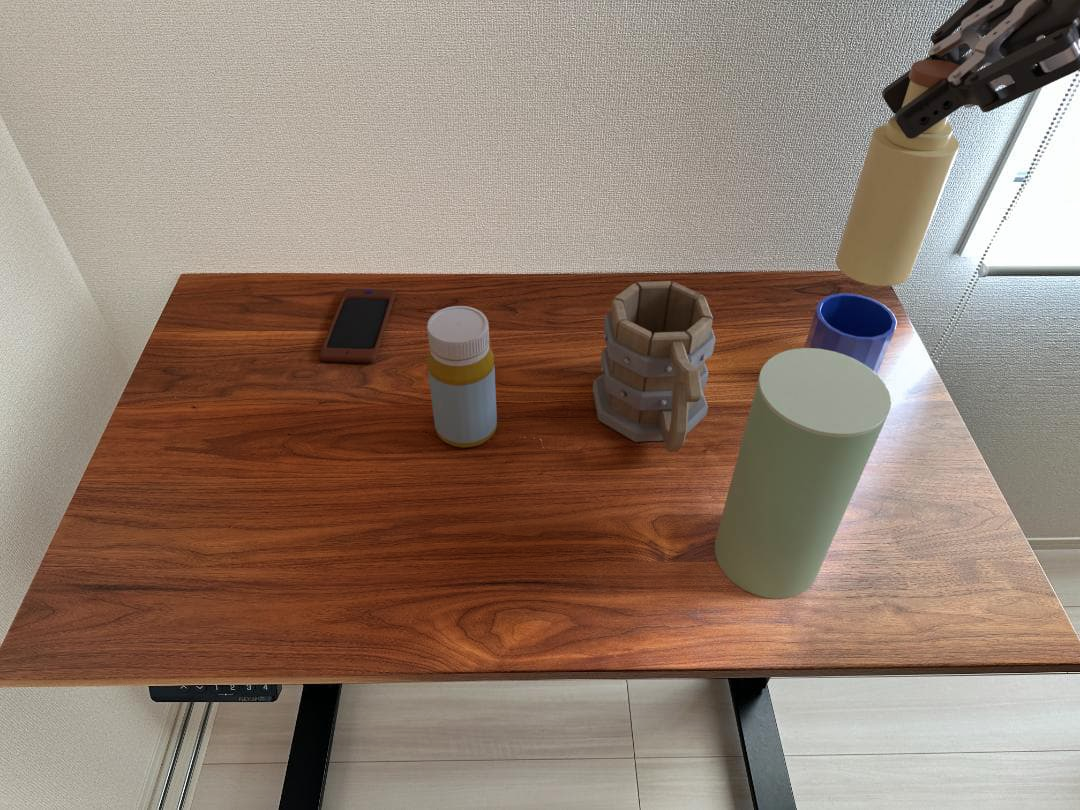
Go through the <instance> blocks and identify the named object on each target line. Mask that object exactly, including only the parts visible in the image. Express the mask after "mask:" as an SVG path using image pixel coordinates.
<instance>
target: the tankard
mask: <svg viewBox="0 0 1080 810" xmlns="http://www.w3.org/2000/svg"><path fill="white" fill-rule="evenodd" d="M713 322H714V317H713V314H712V312H711V308H710V306H709V303H708V301H707V299H706V297H705V296H704V295H703V293H702V294H701V293H700V292H698V291H696V290H693V289H690V288H689V287H686V286H684V285H682V284H680V283H678V282H675V281H672V283H671V281H670V280H663V281H662V280H660V281H658V280H657V281H637V282H636V283H635V282H634V283H632V284H631V285H630V286H628V287H627V288H625V289H624V290H622V291H621V292H620V293H618V294H617V295H616V296H614V297H613V298H612V300H611V305H610V312H609V313H607V314H606V315H605V316H604V321H603V340H604V341H605V345H606V347H605V348H603V349H602V350H601V357H600V367H601V369H600V372H601V375H600V376H598V377H597V378H596V379H595V380H593V382H592V393H593V398H594V404H595V409H596V410H595V411H596V416H597V420H598V421H599V422H601V423H602V424H604V425H605V426H607V427H609V428H610V429H612V430H614V431H616V432H618V433H620V434H621V435H623V436H624V437H626V438H627V439H629V440H631V441H633V442H635V443H639V442H641V443H642V442H660V441H661V442H662V441H663V443H664V446H665V449H666V451H667V452H668V453H678V452H679V450H681V449H682V447H683V446H684V444H685V443H686V437H687V435H688V434H689V433H690V432H691V431H692V430H693V429H694V428H695V427H696V426H697V425H698V424H699V423H700V422H701V421H703V419H704V418H705V417H706V416H707V413H708V410H709V406H708V403H707V399H706V397H705V394H704V390H705V389H706V387H707V381H708V378H709V372H708V369H707V365H706V363H705V362H706V360H708V359H709V358H710V357H712V355H713V354H714V348H715V345H716V337H715V336H716V335H715V334H714V330H713V328H712V327H713Z"/></svg>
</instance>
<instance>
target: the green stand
mask: <svg viewBox="0 0 1080 810" xmlns="http://www.w3.org/2000/svg"><path fill="white" fill-rule="evenodd" d="M755 386H756V387H755V390H754V394H753V398H752V402H751V405H750V409H749V412H748V415H747V416H748V417H747V419H746V424H745V428H744V431H743V436H742V439H741V443H740V446H739V450H738V453H737V458H736V461H735V465H734V469H733V473H732V475H731V480H730V484H729V487H728V491H727V495H726V499H725V502H724V506H723V510H722V513H721V517H720V522H719V525H718V528H717V533H716V535H715V540H714V555H715V558H716V562H717V564H718V566H719V567H720V569H721V571H722V572H723V574H724V575H725V576H726V577H727V578H728V580H730V581H731V582H732V583H733V584H735V585H736V586H737V587H739V588H741V589H742V590H743V591H746V592H747V593H750V594H752V595H755V596H758V597H762V598H765V599H766V598H767V599H777V600H778V599H780V600H782V599H790V598H793V597H796V596H798V595H801V594H802V593H804V592H806V591H807V590H808V589H809V588H810V587H812V585H813V584H814V583H815V581H816V580H817V577H818V575H819V573H820V570H821V568H822V566H823V565H824V564H823V563H824V561H825V559H826V557H827V555H828V552H829V550H830V548H831V545H832V543H833V541H834V538H835V536H836V534H837V532H838V529H839V527H840V525H841V523H842V520H843V518H844V516H845V514H846V512H847V509H848V507H849V505H850V503H851V499H852V498H853V495H854V493H855V491H856V488H857V486H858V484H859V482H860V480H861V477H862V476H863V472H864V470H865V468H866V466H867V463H868V462H869V459H870V457H871V454H872V453H873V450H874V447H875V445H876V443H877V441H878V439H879V437H880V434H881V432H882V430H883V427H884V426H885V425H884V424H885V423H886V421H887V417H888V416H889V413H890V410H891V407H892V406H891V405H892V400H891V399H892V397H891V394H890V390H889V388H888V387H887V385H886V384H885V382H884V380H883V379H882V378H881V377H880V376H879V375H878V373H877V374H876V373H875V372H874V371H873V370H871V369H870V368H869V367H867V366H866V365H864V364H863V363H861V362H859V361H857V360H855V359H853V358H851V357H849V356H846V355H844V354H840V353H837V352H834V351H829V350H824V349H816V348H804V347H803V348H802V347H801V348H800V347H799V348H793V349H788V350H785V351H781V352H779V353H777V354H775V355H773V356H771V358H769V359H768V360H767V361H766V362H765V363H764V364H763V366H762V367H761V369H760V371H759V375H758V380H757V382H756V385H755Z"/></svg>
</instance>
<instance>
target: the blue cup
mask: <svg viewBox="0 0 1080 810" xmlns="http://www.w3.org/2000/svg"><path fill="white" fill-rule="evenodd" d="M897 323H898V322H897V318H896V317H895V315H894V313H893V311H892V310H891V309H889V308H888V307H887V306H886V305H885V304H883V303H881V302H879V301H878V300H875V299H873V298H872V297H868V296H865V295H860V294H856V293H845V292H843V293H841V292H840V293H835V294H831V295H827V296H825V297H824V298H822V299H821V300H819V301H818V303H817V305H816V308H815V311H814V314H813V316H812V320H811V325H810V328H809V331H808V333H807V336H806V340H805V344H804V347H803V348H816V349H824V350H829V351H834V352H837V353H840V354H844V355H846V356H849V357H851V358H853V359H855V360H857V361H859V362H861V363H863V364H864V365H866V366H867V367H869V368H870V369H871V370H873V371H874V372H875V373H876V374H877V375H878V373H879V371H880V369H881V366H882V364H883V361H884V358H885V356H886V354H887V351H888V348H889V347H890V344H891V342H892V339H893V336H894V334H895V332H896V328H897Z"/></svg>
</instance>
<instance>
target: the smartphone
mask: <svg viewBox="0 0 1080 810" xmlns="http://www.w3.org/2000/svg"><path fill="white" fill-rule="evenodd" d="M396 293H397V292H396V291H395V290H393V289H378V288H377V289H375V288H345V290H344V291H343V294H342V295H341V298H340V301H339V303H338V306H337V307H336V308H337V309H336V310H335V313H334V315H333V318H332V320H331V323H330V326H329V328H328V331H327V333H326V336H325V339H324V341H323V343H322V346H321V348H320V352H319V354H318V361H320V362H327V363H329V362H330V363H353V364H354V363H356V364H373V363H374V362H376V359H377V356H378V353H379V350H380V348H381V347H380V346H381V344H382V341H383V338H384V337H383V336H384V333H385V330H386V328H387V324H388V320H389V317H390V314H391V311H392V307H393V306H394V301H395V298H396Z"/></svg>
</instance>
